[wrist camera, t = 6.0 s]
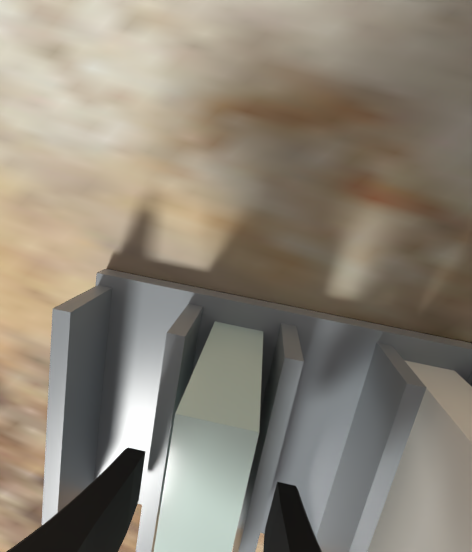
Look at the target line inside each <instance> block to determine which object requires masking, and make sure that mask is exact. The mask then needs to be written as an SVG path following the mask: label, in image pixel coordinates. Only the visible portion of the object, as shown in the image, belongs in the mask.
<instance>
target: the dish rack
mask: <svg viewBox="0 0 472 552" xmlns="http://www.w3.org/2000/svg"><path fill="white" fill-rule="evenodd" d="M214 322H220V323H225V324H230V325H235V326H240V327H244V328H249V329H254V330H259V331H263V354H262V379H261V404H260V429H259V436H258V440H257V445H256V449H255V453H254V458H253V462H252V466H251V471H250V475H249V479H248V484H247V488H246V492H245V497H244V501H243V505H242V509H241V514H240V518H239V522H238V527H237V531H236V535H235V540H234V546H233V552H255V550H256V546H257V543H258V539H259V535H260V533H264V534H265V527H266V523H267V519H268V515H269V511H270V508H271V504H272V500H273V496H274V492H275V488H276V484H277V482H281V483H286V484H290V485H294V486H296V487H297V489H298V491H299V494H300V497H301V500H302V503H303V506H304V509H305V511H306V514H307V517H308V519H309V522H310V525H311V527H312V530H313V532H314V535H315V537H316V539H317V542H318V544H319V546H320V549H321V551H322V552H367V551H368V548H369V545H370V542H371V540H372V537H373V534H374V531H375V529H376V526H377V523H378V520H379V518H380V515H381V512H382V509H383V507H384V504H385V501H386V498H387V496H388V493H389V490H390V487H391V485H392V482H393V479H394V476H395V473H396V471H397V468H398V465H399V462H400V460H401V457H402V454H403V451H404V449H405V446H406V443H407V440H408V438H409V435H410V432H411V429H412V427H413V424H414V421H415V418H416V416H417V413H418V410H419V407H420V405H421V402H422V399H423V396H424V393H425V391H426V388H427V387H426V386H425V385H424V384H423V383H422V381H421V380H420V379H419V378H418V376H417V375H416V374H415V373H414V372H413V370H412V369H411V368H410V367H409V366H408V364H407V363H406V362H405V361H410V362H415V363H420V364H425V365H429V366H434V367H439V368H444V369H449V370H454V371H456V372H457V373H458V374H459V375H460V376H461V377H462V378H463V379H464V380H465V381H466V382H467V383H468V384H469V385H470V386H472V343H469V342H464V341H459V340H454V339H449V338H444V337H439V336H434V335H429V334H425V333H420V332H415V331H410V330H405V329H400V328H395V327H390V326H385V325H380V324H375V323H370V322H366V321H361V320H356V319H351V318H346V317H341V316H336V315H331V314H326V313H321V312H316V311H311V310H307V309H302V308H297V307H292V306H287V305H282V304H277V303H272V302H267V301H262V300H257V299H253V298H248V297H243V296H238V295H233V294H228V293H223V292H218V291H213V290H208V289H203V288H198V287H194V286H189V285H184V284H179V283H174V282H169V281H164V280H159V279H154V278H149V277H144V276H139V275H135V274H130V273H125V272H120V271H115V270H110V269H104V270H102V271H100V272H97V277H96V286H95V287H93V288H91V289H89V290H88V291H86V292H84V293H82V294H80V295H78V296H76V297H74V298H72V299H70V300H68V301H66V302H65V303H63V304H61V305H59V306H57V307H55V308H53V314H52V334H51V353H50V373H49V392H48V412H47V432H46V451H45V471H44V490H43V510H42V525H43V524H45V523H46V522H47V521H48V520H50V519H51V518H52V517H53V516H54V515H56V514H57V513H58V512H59V511H60V510H61V509H63V508H64V507H65V506H66V505H67V504H69V503H70V502H71V501H72V500H73V499H74V498H76V497H77V496H78V495H79V494H80V493H81V492H82V491H83V490H84V489H85V488H86V487H88V486H89V485H90V484H91V483H92V482H93V481H94V480H95V479H96V478H97V477H98V476H99V475H100V474H101V473H102V472H103V471H104V470H105V469H106V468H107V467H108V466H109V465H110V464H111V463H112V462H113V461H114V460H115V459H116V458H117V457H118V456H119V455H120V454H121V453H122V452H123V451H124V450H125V449H126V448H128V447H129V448H133V449H137V450H142V451H146V452H145V459H144V466H143V473H142V481H141V488H140V495H139V501H138V503H137V504H142V511H141V518H140V525H139V532H138V539H137V546H136V552H154V546H155V539H156V533H157V527H158V520H159V514H160V508H161V501H162V495H163V488H164V482H165V476H166V469H167V463H168V457H169V450H170V444H171V437H172V431H173V425H174V418H175V413H176V411H177V408H178V406H179V404H180V401H181V399H182V397H183V394H184V392H185V390H186V387H187V385H188V383H189V380H190V378H191V376H192V374H193V371H194V369H195V367H196V364H197V362H198V360H199V357H200V355H201V353H202V350H203V348H204V346H205V343H206V341H207V339H208V336H209V334H210V332H211V329H212V327H213V325H214ZM404 360H405V361H404Z"/></svg>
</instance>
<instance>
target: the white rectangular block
mask: <svg viewBox="0 0 472 552" xmlns="http://www.w3.org/2000/svg"><path fill="white" fill-rule="evenodd" d="M404 361H405V360H404ZM405 362H406V363H407V364H408V366H409V367H410V368H411V369H412V370H413V372H414V373H415V374H416V375H417V376H418V378H419V379H420V380H421V381H422V383H423V384H424V385H425V386H426V387H427V388H426V391H425V393H424V396H423V399H422V402H421V405H420V407H419V410H418V413H417V416H416V418H415V421H414V424H413V427H412V429H411V432H410V435H409V438H408V440H407V443H406V446H405V449H404V451H403V454H402V457H401V460H400V462H399V465H398V468H397V471H396V473H395V476H394V479H393V482H392V485H391V487H390V490H389V493H388V496H387V498H386V501H385V504H384V507H383V509H382V512H381V515H380V518H379V520H378V523H377V526H376V529H375V531H374V534H373V537H372V540H371V542H370V545H369V548H368V551H367V552H472V386H470V385H469V384H468V383H467V382H466V381H465V380H464V379H463V378H462V377H461V376H460V375H459V374H458V373H457V372H456V371H454V370H449V369H444V368H439V367H434V366H429V365H425V364H420V363H415V362H410V361H405Z"/></svg>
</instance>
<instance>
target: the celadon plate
mask: <svg viewBox="0 0 472 552" xmlns="http://www.w3.org/2000/svg"><path fill="white" fill-rule="evenodd" d="M262 354H263V331H259V330H254V329H249V328H244V327H240V326H235V325H230V324H225V323H220V322H214V325H213V327H212V329H211V332H210V334H209V336H208V339H207V341H206V343H205V346H204V348H203V350H202V353H201V355H200V357H199V360H198V362H197V364H196V367H195V369H194V371H193V374H192V376H191V378H190V380H189V383H188V385H187V387H186V390H185V392H184V394H183V397H182V399H181V401H180V404H179V406H178V408H177V411H176V413H175V418H174V425H173V431H172V437H171V444H170V450H169V457H168V463H167V469H166V476H165V482H164V488H163V495H162V501H161V508H160V514H159V520H158V527H157V533H156V539H155V546H154V552H232V548H233V544H234V540H235V535H236V531H237V527H238V522H239V518H240V514H241V509H242V505H243V501H244V497H245V492H246V488H247V484H248V479H249V475H250V471H251V466H252V462H253V458H254V453H255V449H256V445H257V440H258V436H259V429H260V404H261V379H262Z"/></svg>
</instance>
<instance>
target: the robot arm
mask: <svg viewBox="0 0 472 552" xmlns="http://www.w3.org/2000/svg"><path fill="white" fill-rule="evenodd" d="M145 452H146V451H142V450H137V449H133V448H129V447H128V448H126V449H125V450H124V451H123V452H122V453H121V454H120V455H119V456H118V457H117V458H116V459H115V460H114V461H113V462H112V463H111V464H110V465H109V466H108V467H107V468H106V469H105V470H104V471H103V472H102V473H101V474H100V475H99V476H98V477H97V478H96V479H95V480H94V481H93V482H92V483H91V484H90V485H89V486H88V487H86V488H85V489H84V490H83V491H82V492H81V493H80V494H79V495H78V496H77V497H76V498H74V499H73V500H72V501H71V502H70V503H69V504H67V505H66V506H65V507H64V508H63V509H61V510H60V511H59V512H58V513H57V514H56V515H54V516H53V517H52V518H51V519H50V520H48V521H47V522H46V523H45V524H43V525H42V526H41V527H39V528H38V529H37V530H36V531H34V532H33V533H32V534H30V535H29V536H28V537H26V538H25V539H24V540H22V541H21V542H19V543H18V544H17V545H15V546H14V547H13V548H11V549H10V550H8V551H7V552H118V550H119V548H120V546H121V544H122V542H123V540H124V537H125V535H126V533H127V530H128V528H129V525H130V522H131V520H132V517H133V514H134V512H135V509H136V506H137V503H138V501H139V495H140V488H141V481H142V473H143V466H144V459H145ZM264 552H322V551H321V549H320V546H319V544H318V542H317V539H316V537H315V535H314V532H313V530H312V527H311V525H310V522H309V519H308V517H307V514H306V511H305V509H304V506H303V503H302V500H301V497H300V494H299V491H298V489H297V487H296V486H294V485H290V484H286V483H281V482H277V484H276V488H275V492H274V496H273V500H272V504H271V508H270V511H269V515H268V519H267V523H266V527H265V535H264Z"/></svg>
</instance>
